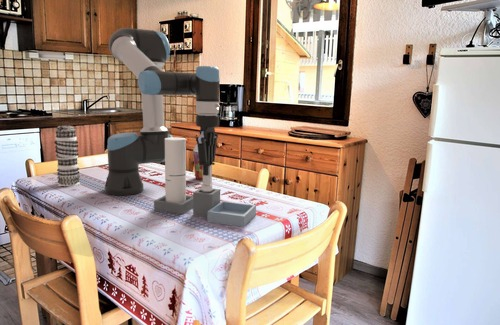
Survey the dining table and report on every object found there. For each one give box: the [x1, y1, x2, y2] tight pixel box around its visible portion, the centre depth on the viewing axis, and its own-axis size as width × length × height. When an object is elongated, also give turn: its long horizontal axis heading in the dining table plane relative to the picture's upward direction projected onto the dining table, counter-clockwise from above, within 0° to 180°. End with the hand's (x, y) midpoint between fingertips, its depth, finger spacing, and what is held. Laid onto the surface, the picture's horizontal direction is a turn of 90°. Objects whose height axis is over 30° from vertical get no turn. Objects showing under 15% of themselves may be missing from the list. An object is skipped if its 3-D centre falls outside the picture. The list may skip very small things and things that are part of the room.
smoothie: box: [192, 144, 203, 181], centre depth 181 cm, size 8×8×20 cm
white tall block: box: [164, 136, 187, 203], centre depth 137 cm, size 7×7×25 cm
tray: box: [206, 200, 257, 228], centre depth 130 cm, size 13×13×4 cm
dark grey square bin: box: [153, 194, 193, 215], centre depth 139 cm, size 11×11×4 cm
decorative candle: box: [53, 125, 81, 187], centre depth 164 cm, size 9×9×25 cm
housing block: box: [192, 187, 221, 218], centre depth 134 cm, size 7×7×8 cm
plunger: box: [201, 183, 213, 193], centre depth 133 cm, size 4×4×4 cm
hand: (207, 183), depth 132 cm, fingers closed
